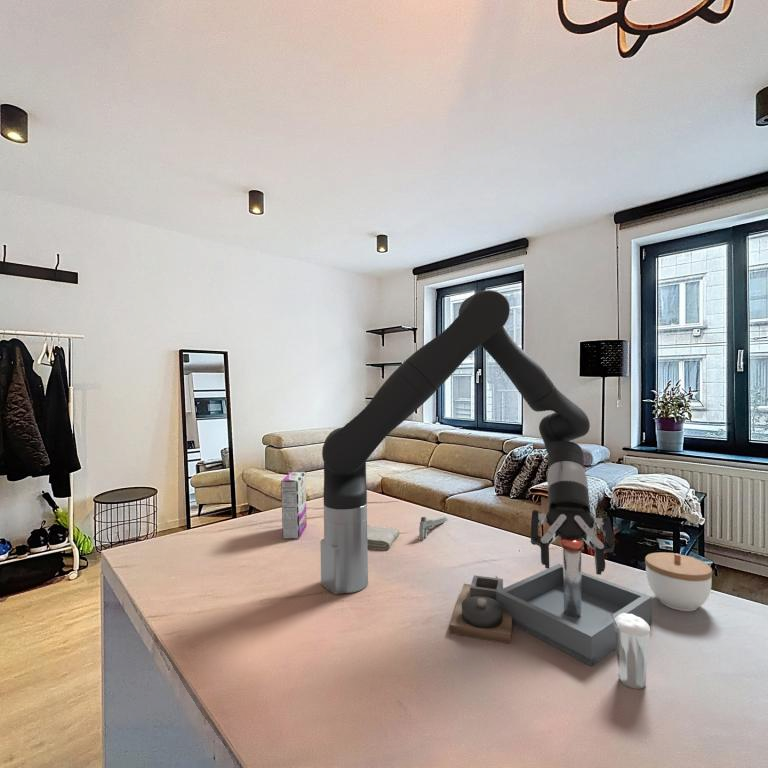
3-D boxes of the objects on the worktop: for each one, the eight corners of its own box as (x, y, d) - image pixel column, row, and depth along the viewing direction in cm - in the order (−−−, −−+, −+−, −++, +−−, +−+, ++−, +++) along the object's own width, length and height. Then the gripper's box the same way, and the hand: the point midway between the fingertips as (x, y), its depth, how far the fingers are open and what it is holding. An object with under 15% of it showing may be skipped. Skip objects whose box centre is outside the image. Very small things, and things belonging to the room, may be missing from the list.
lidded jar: (701, 594, 88) (700, 547, 88) (722, 622, 78) (721, 569, 78) (640, 586, 92) (639, 541, 92) (652, 612, 81) (652, 561, 81)
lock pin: (576, 621, 77) (576, 545, 77) (557, 612, 80) (556, 539, 80) (588, 614, 79) (587, 540, 79) (568, 605, 82) (568, 534, 82)
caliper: (423, 542, 119) (422, 518, 119) (419, 541, 120) (419, 518, 120) (447, 520, 138) (447, 500, 138) (444, 520, 138) (444, 499, 138)
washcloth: (341, 531, 130) (341, 520, 130) (401, 536, 125) (400, 525, 125) (325, 545, 118) (324, 534, 118) (389, 552, 113) (389, 540, 113)
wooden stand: (510, 643, 72) (510, 616, 72) (449, 633, 76) (449, 607, 76) (514, 597, 88) (514, 575, 88) (464, 590, 91) (463, 569, 91)
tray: (591, 666, 67) (591, 636, 66) (496, 616, 81) (496, 591, 81) (651, 622, 78) (651, 596, 78) (559, 585, 93) (559, 563, 93)
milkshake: (602, 672, 65) (601, 604, 65) (636, 670, 66) (636, 602, 65) (621, 694, 61) (620, 621, 61) (658, 691, 61) (657, 619, 61)
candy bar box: (290, 526, 133) (289, 471, 133) (307, 526, 133) (306, 471, 133) (281, 539, 122) (280, 480, 122) (299, 539, 122) (298, 480, 122)
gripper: (530, 477, 89) (530, 556, 78) (608, 481, 84) (620, 565, 73) (530, 496, 94) (530, 573, 83) (605, 501, 89) (615, 583, 79)
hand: (572, 569), depth 78 cm, fingers open, 8 cm apart
